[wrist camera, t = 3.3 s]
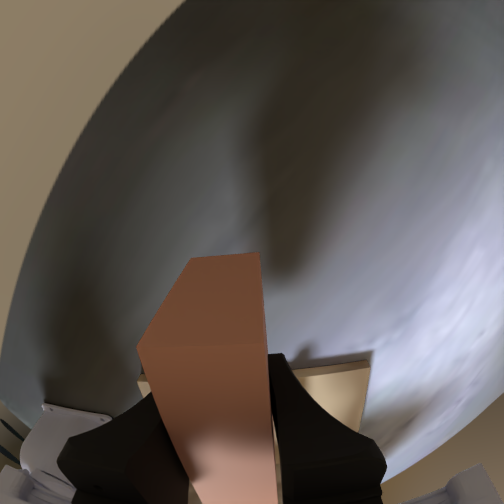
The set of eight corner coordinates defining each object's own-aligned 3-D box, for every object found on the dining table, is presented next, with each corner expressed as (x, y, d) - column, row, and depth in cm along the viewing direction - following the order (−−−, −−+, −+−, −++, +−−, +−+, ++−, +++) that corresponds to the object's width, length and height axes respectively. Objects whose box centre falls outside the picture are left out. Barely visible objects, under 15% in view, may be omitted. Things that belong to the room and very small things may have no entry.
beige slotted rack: (177, 462, 26) (168, 506, 20) (140, 373, 22) (116, 425, 16) (349, 453, 25) (361, 497, 19) (366, 359, 22) (392, 412, 16)
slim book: (219, 407, 16) (206, 510, 9) (191, 258, 13) (136, 346, 7) (272, 404, 16) (278, 510, 9) (259, 252, 13) (264, 342, 6)
